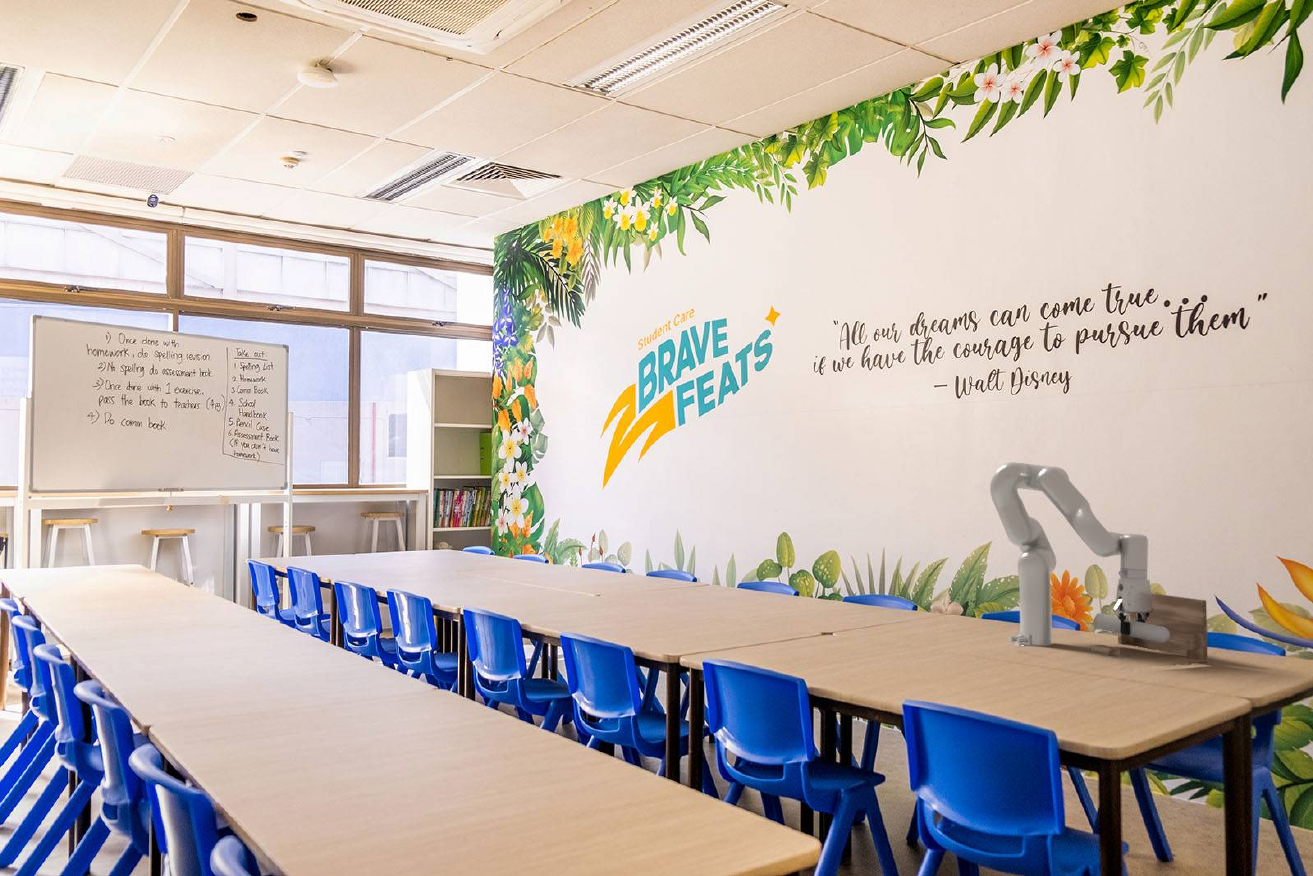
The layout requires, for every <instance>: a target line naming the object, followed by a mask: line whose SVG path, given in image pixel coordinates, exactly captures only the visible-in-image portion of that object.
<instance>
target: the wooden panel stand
mask: <svg viewBox="0 0 1313 876" xmlns="http://www.w3.org/2000/svg"><path fill="white" fill-rule="evenodd" d="M1151 594H1152V608H1153V611H1152V612H1151V613H1150V614H1149V616H1148V618H1147V621H1146V622H1145V623H1147V624H1152V625H1157V626H1162V627H1165V628H1166V629H1168V631H1169V632H1170V638H1169V640H1168V641H1167V642H1165V643H1159V642H1155V641H1150V640H1146V639H1141V638H1137V637H1132V636H1128V635H1123V634H1119V633H1117V644H1118V645H1126V646H1132V647H1136V646H1138V647H1137V648H1141V647H1142V649H1146V648H1147V649H1146V650H1152V651H1156V650H1159V651H1158V652H1161V651H1162V652H1161V653H1167V654H1172V655H1177V656H1183V657H1186V658H1187V659H1197V660H1201V661H1207V660H1208V628H1207V627H1208V626H1207V625H1208V623H1207V622H1208V620H1207V617H1208V616H1207V615H1208V614H1207V600H1205V599H1197V598H1190V597H1182V596H1176V595H1168V594H1160V593H1153V592H1151ZM1140 614H1141V613H1140ZM1129 620H1133V621H1136V620H1137V616H1136V613H1130V617H1129Z"/></svg>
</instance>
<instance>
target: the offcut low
mask: <svg viewBox="0 0 1313 876" xmlns="http://www.w3.org/2000/svg"><path fill="white" fill-rule="evenodd" d="M1089 653H1091V654H1095V655H1099V656H1104V657H1106V656H1105V655H1102V654H1098V653H1094V652H1091V650H1090V651H1089ZM1107 657H1109V658H1121V657H1122V658H1123V657H1126V655H1122V654H1120V656H1107Z"/></svg>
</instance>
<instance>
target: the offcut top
mask: <svg viewBox="0 0 1313 876" xmlns="http://www.w3.org/2000/svg"><path fill="white" fill-rule="evenodd" d="M1090 651H1091V652H1094V653H1093V654H1095V653H1098V654H1097V655H1099V654H1102V655H1101V656H1104V655H1105V656H1104V657H1108V656H1120V655H1121V648H1117V647H1112V646H1109V645H1105V644H1090Z"/></svg>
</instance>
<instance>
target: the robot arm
mask: <svg viewBox="0 0 1313 876" xmlns="http://www.w3.org/2000/svg"><path fill="white" fill-rule="evenodd" d="M989 487H990V490H989V491H990V496H991V499H992V502H993V505H994V506H995V509H996V511H997V513H998V516H999V519H1000V522H1001V523H1002V524H1001V525H1002V526H1003V528H1004V531H1005V533H1006V534H1005V535H1007V538H1008V540H1009V541H1010V542H1011V544H1013V545H1014V546H1017V547H1019V550H1020V552H1021V555H1020V556H1019V558H1018V560H1017V575H1018V584H1019V626H1020V627H1019V628H1020V629H1019V632H1017V634H1016V635H1009V636H1008V637H1007V641H1008V643H1015V644H1014V645H1015V647H1022V646H1029V647H1030V646H1035V647H1036V646H1039V647H1047V646H1052V645H1053V644H1055V643H1054V642H1053V628H1052V627H1053V626H1052V625H1053V624H1052V623H1053V622H1052V616H1053V615H1052V611H1053V610H1052V586H1051V574H1052V573H1053V572H1054V570H1055V568H1056V566H1057V559H1056V554H1055V553H1054V549H1053V548H1052V545H1051V544H1050V541H1049V539H1048V537H1047V534H1046V532H1045V530H1044V528H1043V526H1042V525H1041V523H1040V522H1039V521H1038V520H1037V519H1035V518H1034V517H1032V516H1029V513H1028V511H1027V510H1026V509H1027V508H1025V505H1024V501H1023V499H1022V498H1021V496H1020V495H1019V492H1018V489H1022V490H1032V491H1039V492H1042V493H1043V494H1044V495H1045V496H1046V497H1047V499H1049V500H1050V502H1051V503H1052V504H1053V505H1054V506H1055V508H1056V509H1057V510H1058V511H1059V512H1060V514H1062V515H1063V517H1064V518H1065V519H1066V521H1067V523H1068V524H1069V525H1070V526H1071V527H1072V529H1073V530H1074V532H1075V533H1076V534H1077V536H1079V538H1080V539H1081V540H1082V541H1083V543H1085V545H1086V546H1087V547H1088V548H1089V549H1090V551H1091V552H1093V553H1094V554H1095V555H1096V556H1098V557H1102V558H1109V557H1111V556H1112V557H1113V556H1120V569H1119V571H1118V575H1119V579H1118V580H1117V581H1118V582H1117V587H1116V593H1115V594H1116V595H1115V596H1116V597H1115V603H1116V604H1115V605H1114V607H1113V608H1112V612H1113V613H1114V614H1115V615H1116V617H1118V618H1119V620H1120V621H1121V627H1120V633H1121V634H1124V635H1130V622H1128V621H1129V620H1130V613H1136V616H1137V620H1136V621H1138V622H1143V623H1145V622H1146V621H1147V618H1148V616H1149V614H1150V613H1151V612H1152V611H1153V608H1152V594H1151V593H1152V586H1151V582H1150V579H1148V566H1149V565H1148V562H1149V561H1148V558H1149V539H1148V537H1147V536H1146V535H1144V534H1138V533H1119V532H1114V531H1109V530H1107V529H1106V528H1105V527H1104V526H1103V524H1102V523H1101V522H1100V521H1099V519H1097V517H1096V515H1094V513H1093V511H1092V508H1091V505H1090V503H1089V501H1088V500H1087V498H1086V497H1085V496H1084V495H1083V493H1081V492H1080V491H1079V490H1078V488H1077V487H1076V486H1075V485H1074V484H1073V483H1072V481H1071V480H1070V477H1069V475H1068V472H1067V471H1065V469H1063V468H1061V467H1058V466H1047V465H1039V464H1030V463H1024V462H1023V463H1022V462H1007V463H1005V464H1003V465H1001V466H1000V467H999V468H998V469H997V470H996V471H995V472H994V474H993V476H992V478H991V479H990V484H989ZM1140 613H1141V614H1140Z"/></svg>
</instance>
